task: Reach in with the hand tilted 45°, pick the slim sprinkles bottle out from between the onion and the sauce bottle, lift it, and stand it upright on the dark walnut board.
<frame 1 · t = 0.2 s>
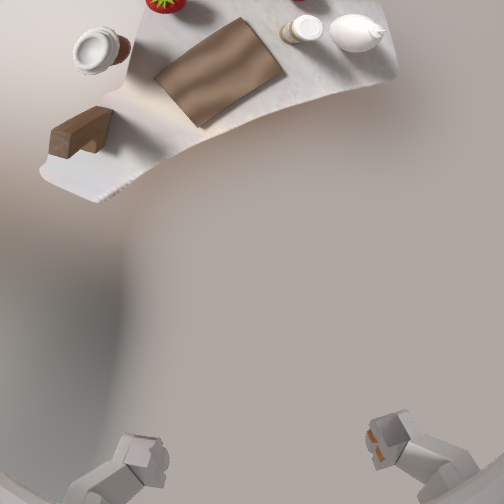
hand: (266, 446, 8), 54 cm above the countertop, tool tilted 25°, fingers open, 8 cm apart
sauce bottle: (339, 34, 38), on the countertop
sprinkles bottle: (290, 34, 38), on the countertop
wooden block: (100, 126, 46), on the countertop
walnut board: (217, 71, 43), on the countertop
coffee cup: (116, 50, 36), on the countertop
strawberry: (171, 4, 32), on the countertop
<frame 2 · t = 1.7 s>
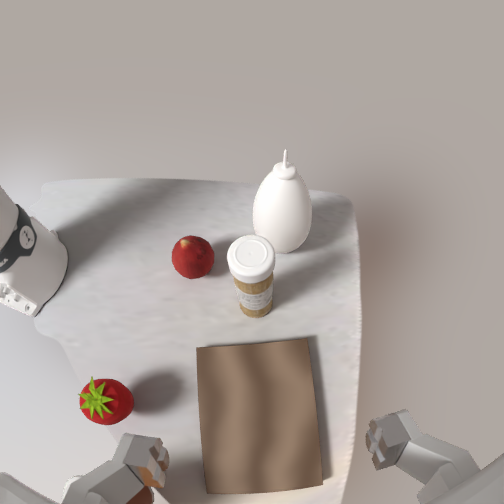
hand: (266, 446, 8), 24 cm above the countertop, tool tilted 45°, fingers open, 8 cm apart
sauce bottle: (280, 244, 42), on the countertop
onion: (199, 270, 40), on the countertop
sprinkles bottle: (256, 303, 37), on the countertop
walnut board: (258, 421, 29), on the countertop
coffee cup: (133, 491, 23), on the countertop
strawberry: (125, 403, 30), on the countertop
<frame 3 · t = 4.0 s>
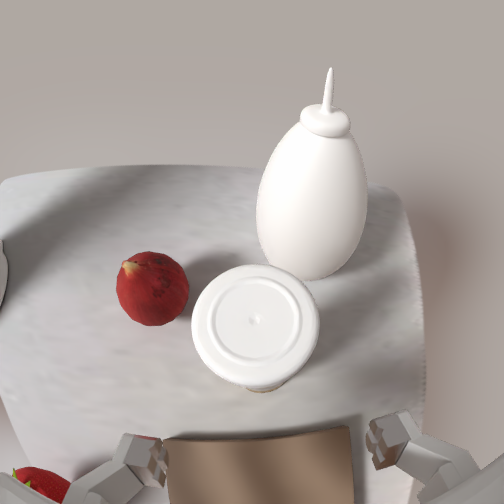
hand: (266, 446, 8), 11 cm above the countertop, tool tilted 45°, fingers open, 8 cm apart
sauce bottle: (300, 263, 25), on the countertop
onion: (168, 306, 24), on the countertop
sprinkles bottle: (261, 367, 21), on the countertop
strawberry: (76, 488, 13), on the countertop
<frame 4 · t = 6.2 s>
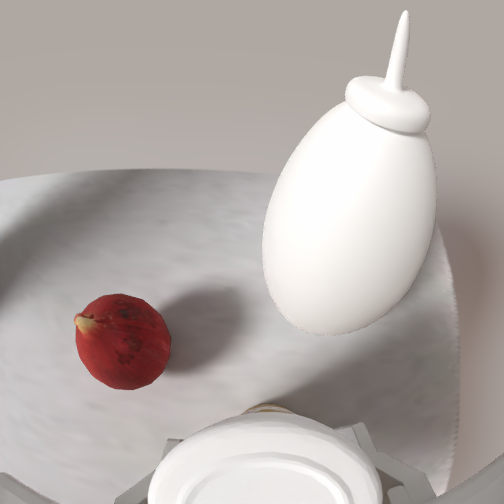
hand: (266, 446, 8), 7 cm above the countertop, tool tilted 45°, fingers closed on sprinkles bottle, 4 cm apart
sauce bottle: (318, 300, 19), on the countertop
onion: (148, 354, 18), on the countertop
sprinkles bottle: (267, 436, 14), on the countertop, touching gripper
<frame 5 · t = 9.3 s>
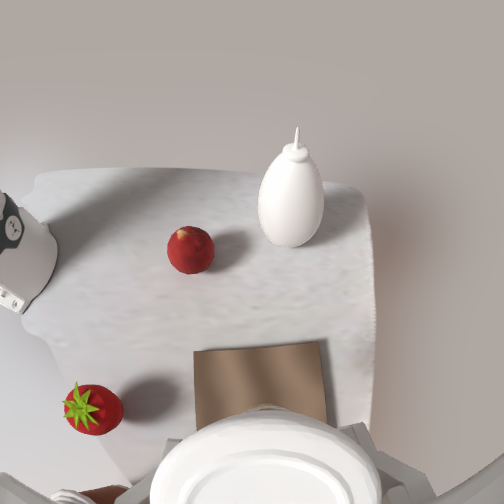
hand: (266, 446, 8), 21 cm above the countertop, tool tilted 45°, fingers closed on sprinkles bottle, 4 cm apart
sauce bottle: (287, 238, 38), on the countertop
onion: (197, 265, 36), on the countertop
sprinkles bottle: (267, 435, 14), point 13 cm above the countertop, touching gripper
walnut board: (262, 433, 25), on the countertop
strawberry: (116, 411, 26), on the countertop
when the fingers open (10 cm above the countertop, at t = 12.2 s): sprinkles bottle drops 1 cm, resting on walnut board.
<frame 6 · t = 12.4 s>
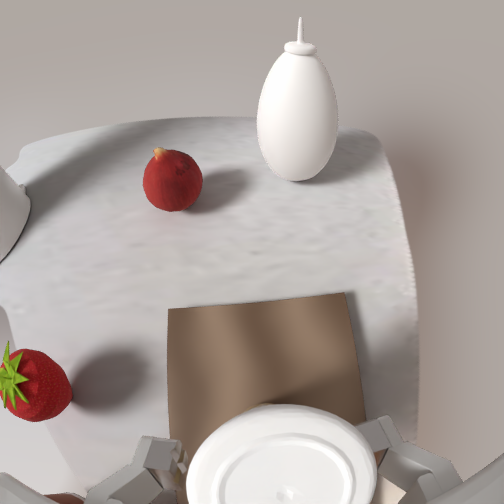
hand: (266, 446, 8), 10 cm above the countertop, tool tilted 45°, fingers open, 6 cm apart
sauce bottle: (293, 175, 30), on the countertop
onion: (182, 207, 28), on the countertop
sprinkles bottle: (266, 433, 16), point 1 cm above the countertop, touching walnut board
walnut board: (268, 431, 17), on the countertop
strawberry: (69, 394, 18), on the countertop
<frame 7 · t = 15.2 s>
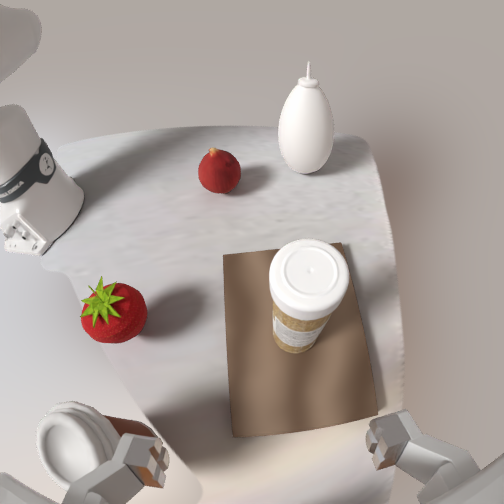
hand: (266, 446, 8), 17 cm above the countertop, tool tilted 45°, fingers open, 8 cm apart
sauce bottle: (303, 170, 41), on the countertop
onion: (223, 191, 39), on the countertop
sprinkles bottle: (295, 333, 26), point 1 cm above the countertop, touching walnut board
walnut board: (295, 336, 27), on the countertop
coffee cup: (136, 446, 21), on the countertop
strawberry: (136, 330, 29), on the countertop
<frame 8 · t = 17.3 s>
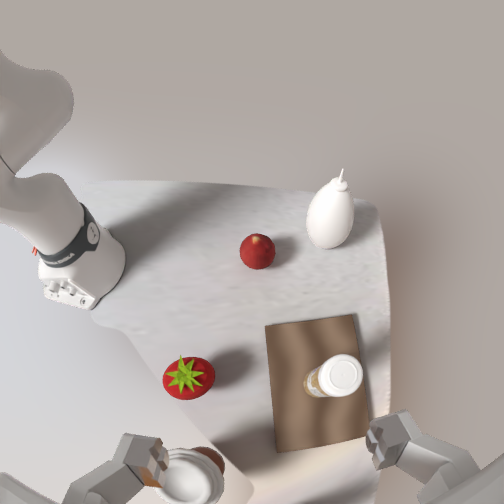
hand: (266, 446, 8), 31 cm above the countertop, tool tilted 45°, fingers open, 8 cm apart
sauce bottle: (323, 241, 50), on the countertop
onion: (258, 263, 48), on the countertop
sprinkles bottle: (317, 383, 36), point 1 cm above the countertop, touching walnut board
walnut board: (317, 384, 37), on the countertop
coffee cup: (204, 464, 31), on the countertop
strawberry: (198, 381, 38), on the countertop
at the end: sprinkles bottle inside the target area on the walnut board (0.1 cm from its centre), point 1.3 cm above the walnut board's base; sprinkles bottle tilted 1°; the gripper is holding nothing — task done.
